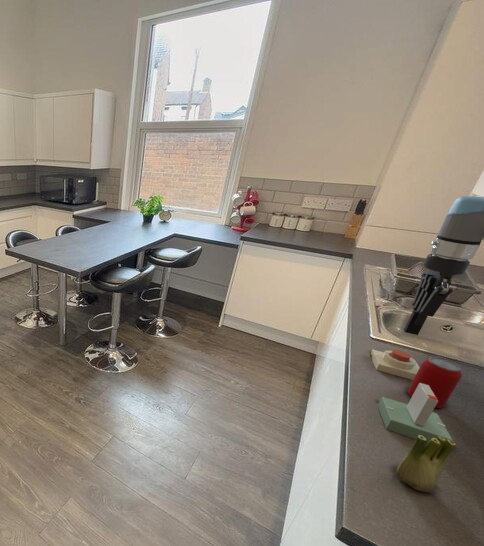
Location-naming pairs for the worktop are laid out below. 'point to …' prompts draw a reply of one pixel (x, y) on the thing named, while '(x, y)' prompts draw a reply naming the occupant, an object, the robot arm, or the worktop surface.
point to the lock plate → (410, 421)
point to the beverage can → (437, 378)
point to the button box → (394, 365)
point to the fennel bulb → (424, 463)
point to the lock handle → (422, 404)
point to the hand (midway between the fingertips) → (410, 332)
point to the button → (400, 355)
